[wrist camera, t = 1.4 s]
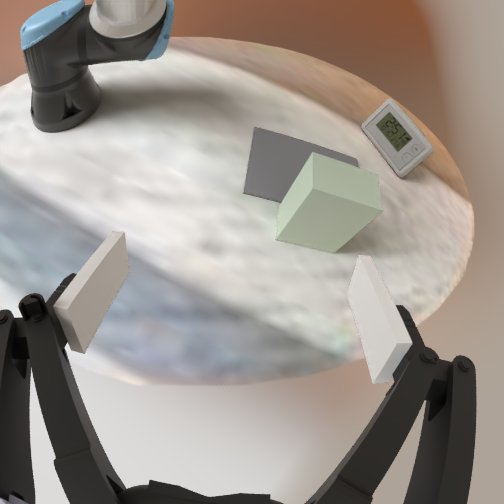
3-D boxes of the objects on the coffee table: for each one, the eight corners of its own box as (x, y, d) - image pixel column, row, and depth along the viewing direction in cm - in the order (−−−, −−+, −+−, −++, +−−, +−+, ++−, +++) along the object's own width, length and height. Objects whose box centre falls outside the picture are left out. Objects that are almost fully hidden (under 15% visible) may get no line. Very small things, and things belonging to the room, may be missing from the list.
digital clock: (356, 125, 65) (377, 94, 56) (381, 127, 68) (403, 99, 59) (389, 180, 60) (417, 151, 51) (413, 178, 63) (440, 152, 54)
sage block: (278, 207, 49) (312, 151, 37) (333, 221, 51) (377, 174, 39) (275, 239, 47) (312, 188, 34) (333, 253, 48) (383, 210, 36)
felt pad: (254, 128, 55) (255, 126, 55) (355, 160, 59) (356, 159, 59) (243, 193, 49) (243, 192, 48) (362, 225, 52) (363, 224, 52)
